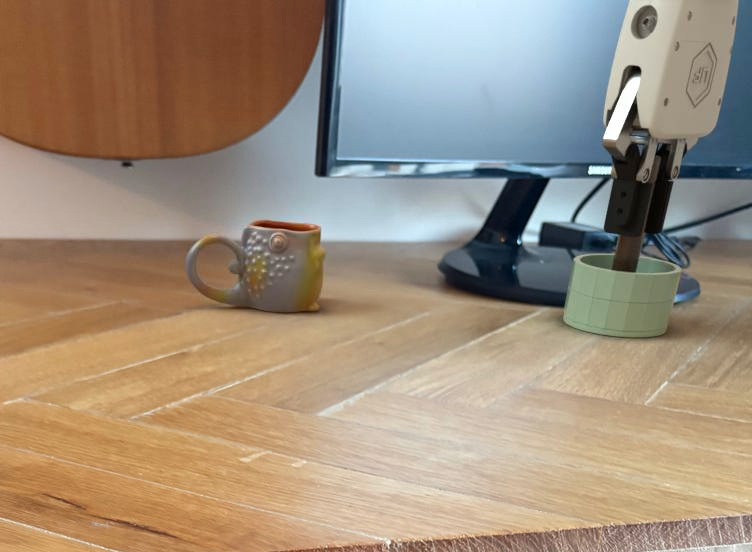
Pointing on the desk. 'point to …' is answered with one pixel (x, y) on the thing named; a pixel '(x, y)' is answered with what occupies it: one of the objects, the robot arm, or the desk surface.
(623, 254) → the stick
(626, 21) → the robot arm
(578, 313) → the bowl
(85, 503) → the desk surface
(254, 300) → the mug
